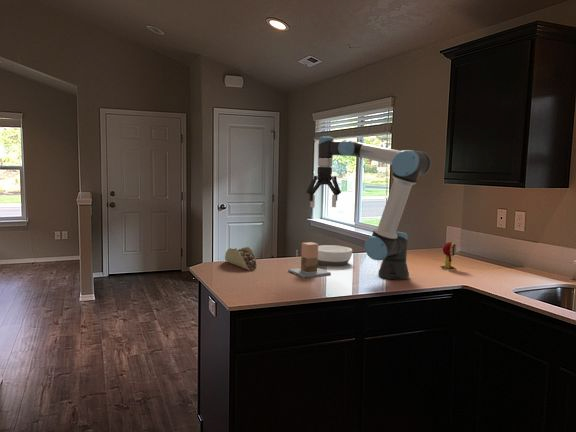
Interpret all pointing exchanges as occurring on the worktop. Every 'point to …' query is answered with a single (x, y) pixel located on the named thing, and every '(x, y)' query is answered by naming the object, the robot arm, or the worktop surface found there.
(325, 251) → the bowl
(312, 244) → the terracotta block
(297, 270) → the board
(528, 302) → the worktop surface
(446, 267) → the figurine
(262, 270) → the worktop surface
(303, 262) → the walnut block
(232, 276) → the worktop surface
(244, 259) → the taco
